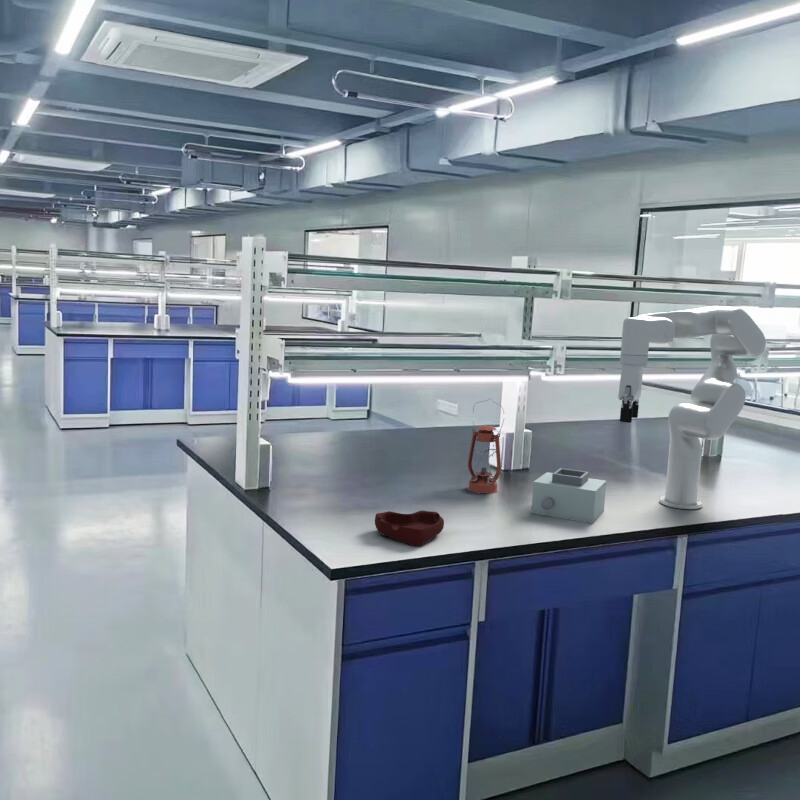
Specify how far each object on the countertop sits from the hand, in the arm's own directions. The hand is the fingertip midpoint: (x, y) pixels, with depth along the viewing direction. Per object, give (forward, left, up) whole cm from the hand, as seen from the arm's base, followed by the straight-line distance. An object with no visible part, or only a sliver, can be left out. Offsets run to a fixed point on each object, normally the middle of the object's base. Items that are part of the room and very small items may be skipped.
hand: (628, 419), depth 226 cm
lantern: (-2, -44, -28) cm, 52 cm away
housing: (+8, -14, -28) cm, 33 cm away
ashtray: (+53, -43, -29) cm, 74 cm away
